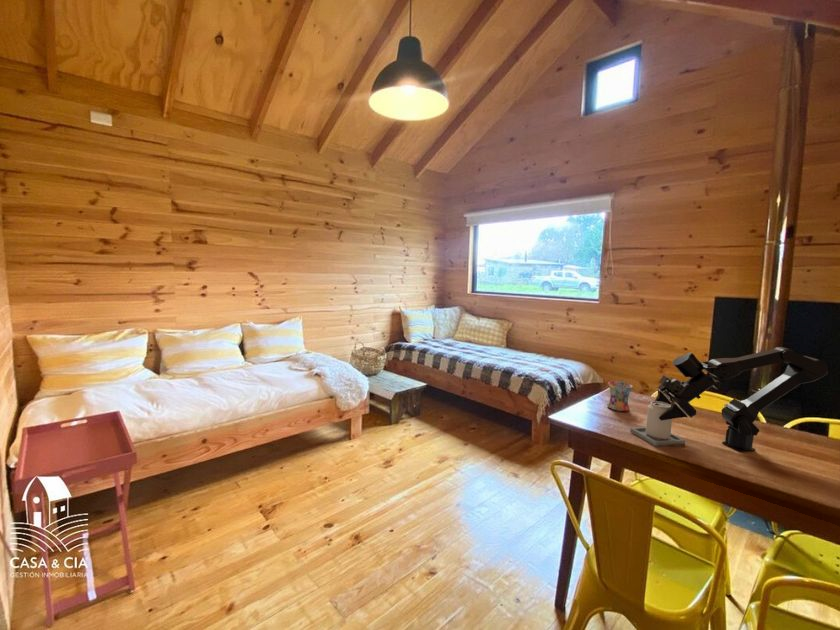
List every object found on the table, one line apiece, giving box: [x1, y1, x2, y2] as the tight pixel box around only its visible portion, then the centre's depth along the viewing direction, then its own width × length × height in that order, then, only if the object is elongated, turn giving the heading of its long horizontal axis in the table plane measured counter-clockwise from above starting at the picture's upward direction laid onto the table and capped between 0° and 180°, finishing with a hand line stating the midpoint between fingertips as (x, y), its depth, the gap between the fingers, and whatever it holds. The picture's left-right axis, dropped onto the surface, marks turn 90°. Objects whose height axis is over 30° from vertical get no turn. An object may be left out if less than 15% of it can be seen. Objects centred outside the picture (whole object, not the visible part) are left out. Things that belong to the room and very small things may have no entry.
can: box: [645, 400, 673, 440], centre depth 135 cm, size 8×8×12 cm
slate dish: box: [630, 426, 686, 448], centre depth 136 cm, size 12×12×2 cm
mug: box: [606, 380, 634, 412], centre depth 164 cm, size 12×9×11 cm
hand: (654, 414), depth 135 cm, fingers open, 9 cm apart
